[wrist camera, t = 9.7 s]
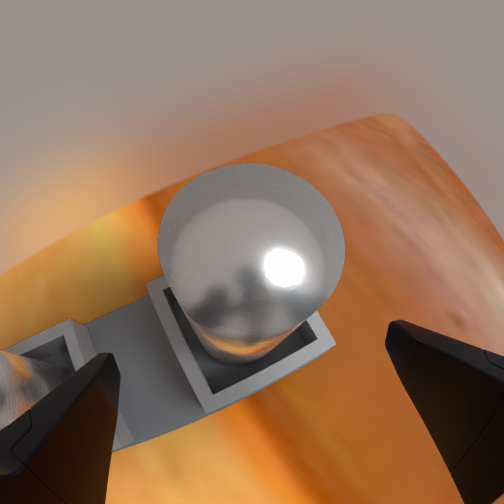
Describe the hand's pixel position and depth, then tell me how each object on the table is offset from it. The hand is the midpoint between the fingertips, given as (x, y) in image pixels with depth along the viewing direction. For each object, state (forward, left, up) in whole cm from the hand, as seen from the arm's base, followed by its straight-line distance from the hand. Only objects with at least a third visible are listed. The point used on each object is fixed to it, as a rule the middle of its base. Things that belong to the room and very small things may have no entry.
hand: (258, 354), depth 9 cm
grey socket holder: (-2, +6, -11) cm, 12 cm away
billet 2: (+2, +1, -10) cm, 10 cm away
